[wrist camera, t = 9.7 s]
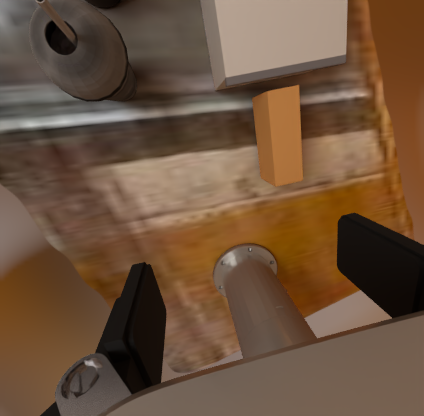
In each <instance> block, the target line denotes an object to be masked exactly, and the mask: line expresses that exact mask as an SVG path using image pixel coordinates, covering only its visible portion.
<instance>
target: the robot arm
mask: <svg viewBox="0 0 424 416" xmlns="http://www.w3.org/2000/svg"><path fill="white" fill-rule="evenodd" d="M337 267H338V269H339V271H340V272H341V273H342V274H343V275H345V276H346V277H347V278H348V279H349V280H350V281H351V282H352V283H354V284H355V285H356V286H357V287H358V288H359V289H360V290H361V291H363V292H364V293H365V294H366V295H367V296H368V297H369V298H370V299H372V300H373V301H374V302H375V303H376V304H377V305H378V306H379V307H381V308H382V309H383V310H384V311H385V312H386V313H387V314H389V315H390V316H391V317H392V319H389V320H385V321H381V322H378V323H373V324H370V325H366V326H362V327H358V328H354V329H351V330H347V331H343V332H340V333H336V334H332V335H329V336H325V337H321V338H317V337H316V336H315V334H314V333H313V331H312V330H311V329H310V327H309V325H308V324H307V322H306V321H305V319H304V318H303V316H302V314H301V313H300V311H299V310H298V308H297V307H296V305H295V304H294V302H293V301H292V299H291V298H290V296H289V295H288V293H287V290H286V289H285V288H284V287H283V285H282V284H281V282H280V281H279V279H278V278H277V276H276V275H277V263H276V260H275V259H274V257H273V255H272V254H271V253H270V252H269V251H268V250H267V249H266V248H264V247H262V246H260V245H257V244H242V245H238V246H235V247H233V248H231V249H229V250H227V251H226V252H225V253H224V254H223V255H221V257H220V258H219V259H218V261H217V262H216V264H215V267H214V271H213V278H214V283H215V286H216V288H217V290H218V291H219V292H220V293H221V294H222V295H223V296H224V297H226V298H227V300H228V304H229V308H230V311H231V315H232V319H233V323H234V326H235V330H236V334H237V337H238V341H239V345H240V348H241V352H242V356H243V359H240V360H237V361H233V362H230V363H226V364H223V365H219V366H215V367H212V368H208V369H205V370H201V371H198V372H195V373H191V374H188V375H185V376H181V377H178V378H174V379H171V380H169V381H165V382H163V383H161V375H162V363H163V351H164V339H165V327H166V308H165V305H164V302H163V299H162V296H161V293H160V290H159V287H158V284H157V281H156V279H155V276H154V273H153V270H152V267H151V265H150V264H148V265H147V264H146V263H145V262H143V263H139V264H134V265H132V267H131V270H130V272H129V275H128V278H127V280H126V283H125V286H124V289H123V291H122V294H121V297H120V298H117V299H116V301H115V303H114V306H113V308H112V311H111V313H110V316H109V319H108V321H107V324H106V326H105V329H104V331H103V334H102V337H101V339H100V342H99V344H98V347H97V350H96V352H95V354H90V355H88V356H85V357H83V358H81V359H80V360H79V361H77V362H76V363H75V364H73V365H72V366H71V367H70V368H69V369H68V370H67V371H66V373H65V374H64V375H63V376H62V378H61V380H60V381H59V383H58V385H57V388H56V392H55V399H56V402H55V403H53V404H52V405H51V406H50V407H49V408H48V409H47V410H46V411H45V412H44V413H43V414H41V415H40V416H424V245H422V244H420V243H418V242H416V241H414V240H412V239H410V238H408V237H405V236H403V235H401V234H399V233H397V232H395V231H393V230H391V229H388V228H386V227H384V226H382V225H380V224H378V223H376V222H374V221H372V220H369V219H367V218H365V217H363V216H361V215H359V214H357V213H351V214H347V215H343V216H341V218H340V219H339V221H338V241H337Z"/></svg>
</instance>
